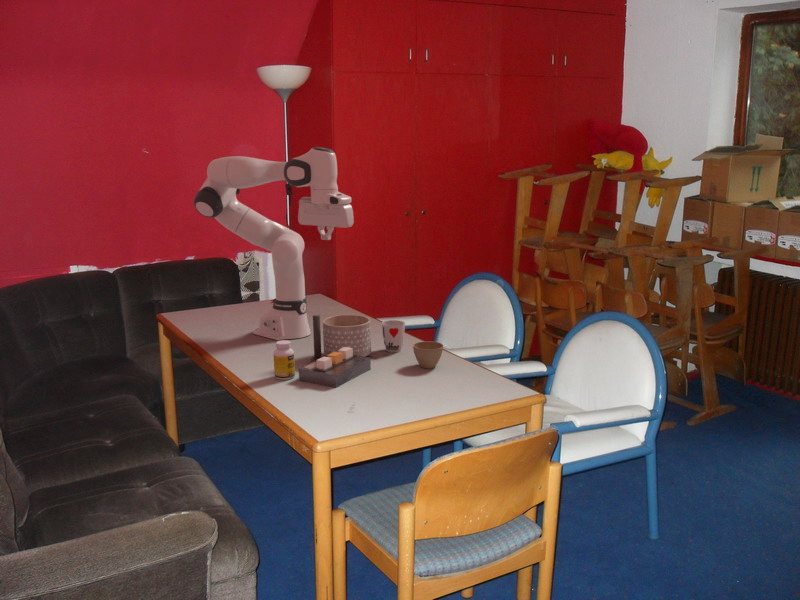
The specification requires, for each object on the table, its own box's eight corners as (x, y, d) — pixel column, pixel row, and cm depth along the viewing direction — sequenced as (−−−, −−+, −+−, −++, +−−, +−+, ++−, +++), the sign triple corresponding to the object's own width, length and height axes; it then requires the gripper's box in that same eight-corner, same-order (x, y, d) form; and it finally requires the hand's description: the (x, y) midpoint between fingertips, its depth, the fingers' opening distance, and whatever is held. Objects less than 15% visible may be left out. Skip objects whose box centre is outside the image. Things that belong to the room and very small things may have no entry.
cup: (378, 351, 266) (377, 324, 264) (389, 345, 273) (388, 319, 271) (398, 354, 262) (398, 327, 260) (409, 348, 269) (408, 321, 267)
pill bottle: (286, 381, 236) (284, 346, 233) (270, 378, 239) (268, 343, 237) (299, 376, 241) (297, 341, 239) (283, 372, 245) (282, 338, 242)
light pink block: (316, 368, 235) (316, 360, 235) (324, 365, 239) (323, 356, 238) (324, 370, 234) (324, 361, 233) (331, 366, 237) (331, 357, 236)
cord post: (307, 362, 255) (305, 316, 251) (316, 358, 259) (314, 313, 255) (319, 364, 252) (318, 318, 249) (328, 360, 257) (326, 315, 253)
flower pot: (433, 372, 243) (433, 351, 242) (407, 367, 249) (407, 346, 247) (448, 364, 252) (448, 343, 250) (423, 359, 257) (422, 339, 255)
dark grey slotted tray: (299, 380, 237) (298, 367, 236) (335, 363, 254) (334, 350, 253) (336, 387, 230) (335, 374, 229) (370, 369, 247) (370, 356, 246)
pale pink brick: (338, 358, 245) (338, 350, 245) (345, 355, 249) (345, 346, 248) (346, 359, 244) (345, 351, 243) (352, 356, 247) (352, 348, 247)
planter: (380, 356, 261) (379, 321, 258) (340, 366, 251) (339, 329, 248) (354, 346, 273) (353, 312, 270) (314, 354, 264) (313, 319, 261)
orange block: (327, 363, 240) (327, 354, 240) (334, 359, 244) (334, 351, 243) (335, 364, 239) (335, 356, 238) (342, 361, 242) (342, 352, 242)
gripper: (293, 197, 250) (295, 238, 253) (344, 199, 240) (346, 242, 243) (304, 195, 255) (306, 236, 258) (355, 197, 245) (356, 240, 248)
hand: (326, 239), depth 250 cm, fingers closed
